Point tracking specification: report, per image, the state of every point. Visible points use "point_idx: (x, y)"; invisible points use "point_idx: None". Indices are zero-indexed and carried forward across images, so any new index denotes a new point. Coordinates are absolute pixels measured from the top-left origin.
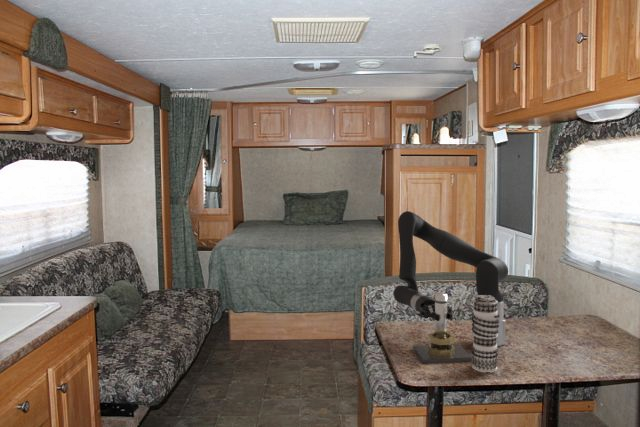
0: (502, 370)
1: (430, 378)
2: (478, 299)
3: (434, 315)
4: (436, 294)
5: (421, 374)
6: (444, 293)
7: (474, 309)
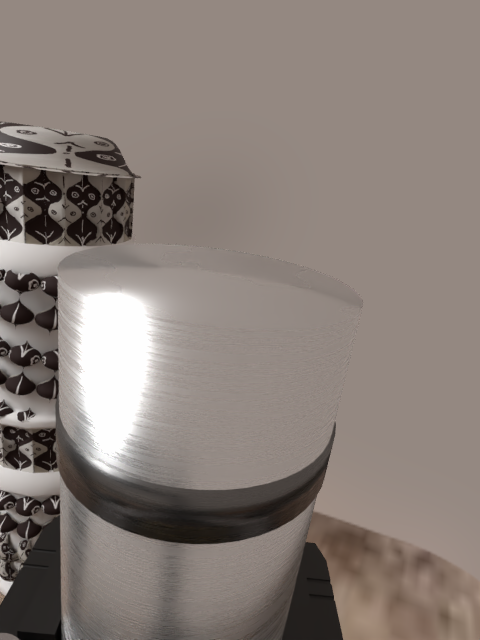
0: None
1: (370, 546)
2: (120, 153)
3: (322, 574)
4: (340, 291)
5: (408, 598)
6: (108, 266)
7: (123, 238)
